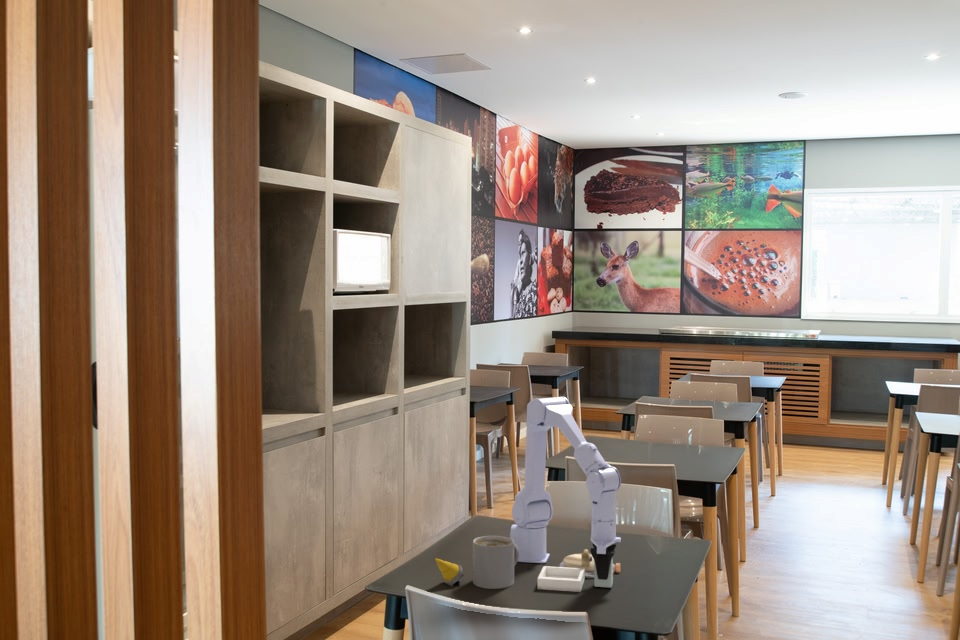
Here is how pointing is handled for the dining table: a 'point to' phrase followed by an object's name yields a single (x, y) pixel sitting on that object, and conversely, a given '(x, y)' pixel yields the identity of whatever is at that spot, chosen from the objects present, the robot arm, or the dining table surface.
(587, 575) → the crank base
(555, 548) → the dining table surface
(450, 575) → the yellow and grey cone
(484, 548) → the coffee mug
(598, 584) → the block
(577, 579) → the tray
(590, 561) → the crank
